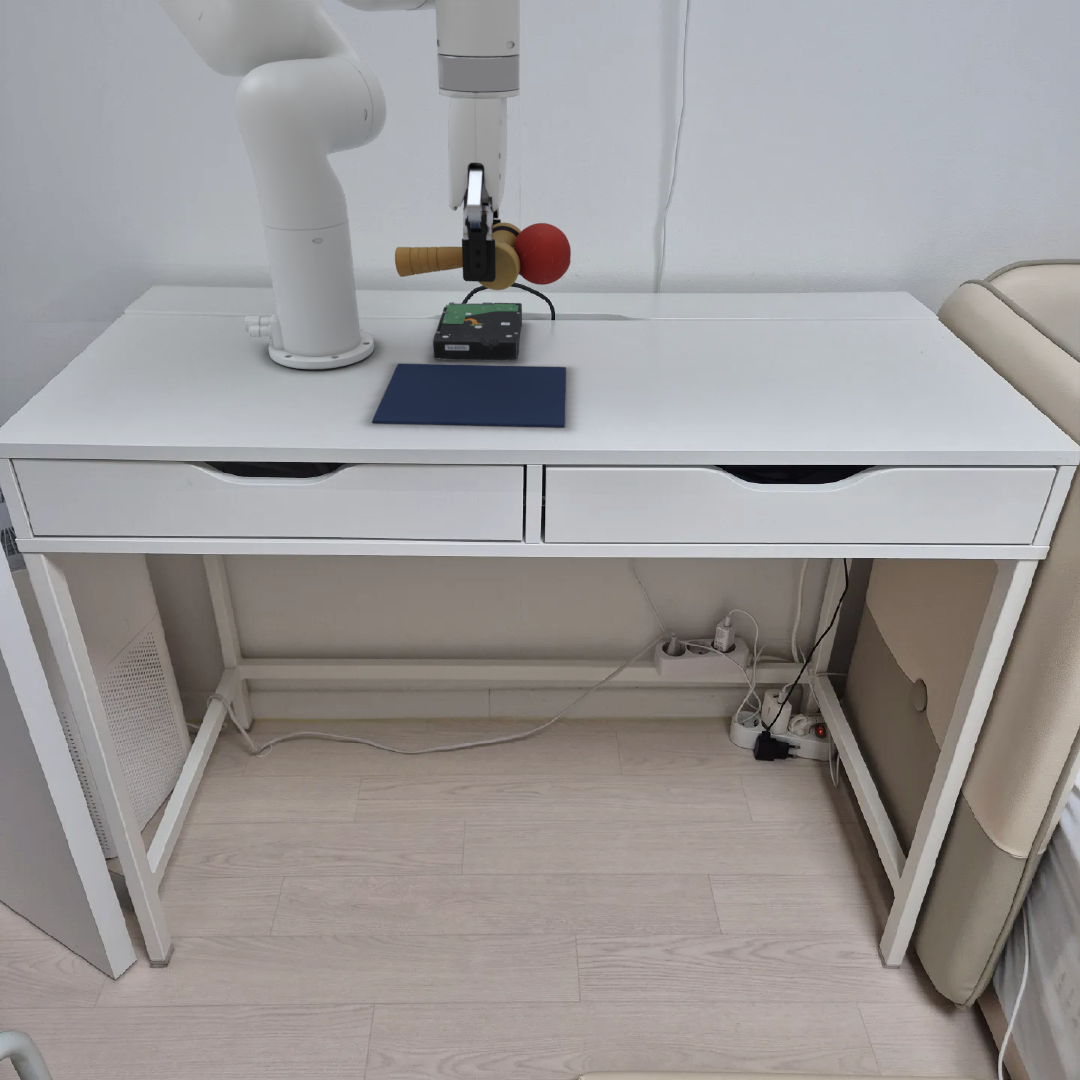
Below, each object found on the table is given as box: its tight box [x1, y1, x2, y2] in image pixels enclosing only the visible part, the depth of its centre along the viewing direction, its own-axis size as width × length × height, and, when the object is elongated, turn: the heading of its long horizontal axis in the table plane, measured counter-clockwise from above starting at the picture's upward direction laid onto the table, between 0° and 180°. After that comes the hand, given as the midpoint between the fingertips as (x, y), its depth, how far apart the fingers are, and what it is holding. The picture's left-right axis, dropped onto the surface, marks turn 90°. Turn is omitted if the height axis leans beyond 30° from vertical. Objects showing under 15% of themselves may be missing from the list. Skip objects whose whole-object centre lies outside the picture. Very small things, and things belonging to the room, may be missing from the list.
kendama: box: [394, 222, 572, 291], centre depth 92 cm, size 8×6×18 cm
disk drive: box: [432, 301, 523, 362], centre depth 113 cm, size 10×3×15 cm
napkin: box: [371, 363, 567, 428], centre depth 100 cm, size 20×16×1 cm
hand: (482, 267), depth 92 cm, fingers closed on kendama, 7 cm apart
